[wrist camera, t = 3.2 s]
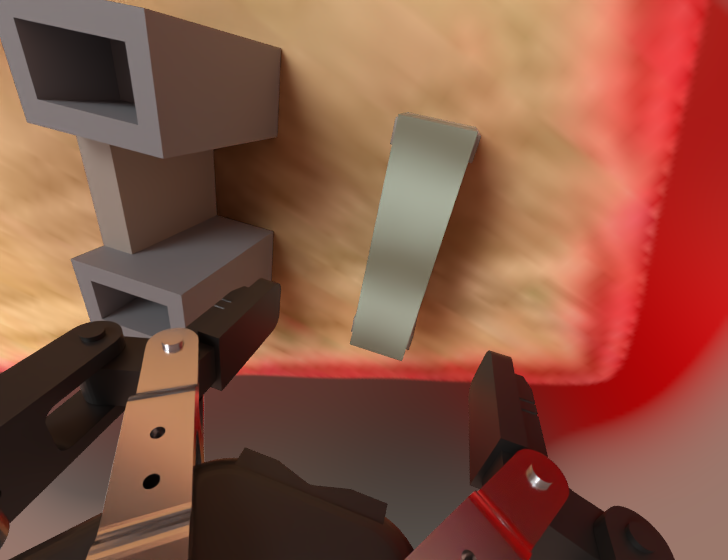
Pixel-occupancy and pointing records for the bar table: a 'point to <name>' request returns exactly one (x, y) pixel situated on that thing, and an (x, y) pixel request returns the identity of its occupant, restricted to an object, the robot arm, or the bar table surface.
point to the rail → (410, 228)
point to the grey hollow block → (149, 147)
